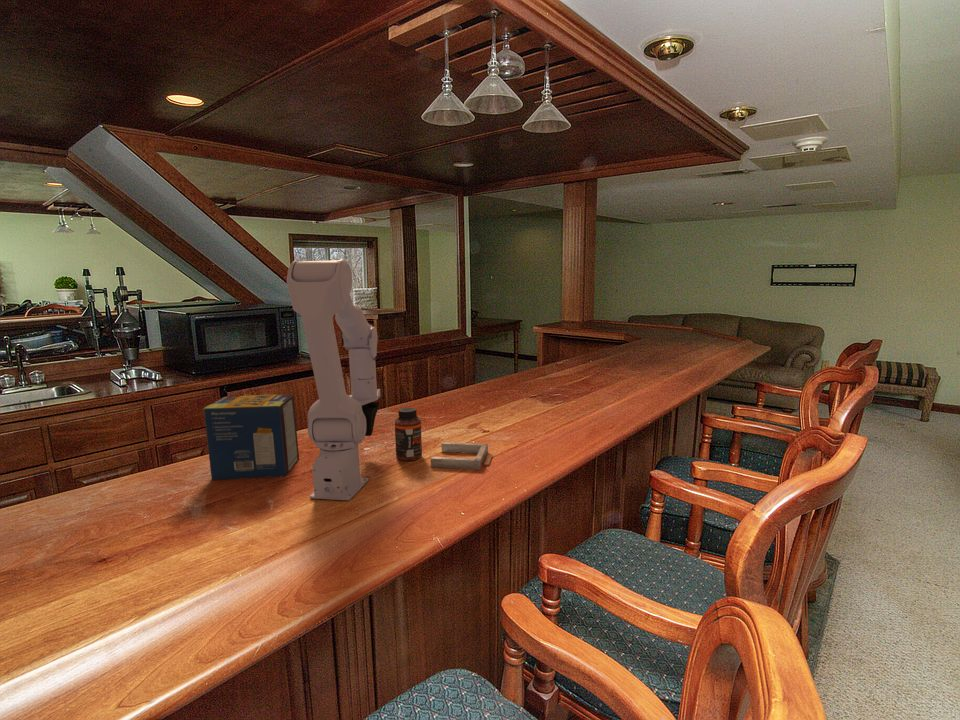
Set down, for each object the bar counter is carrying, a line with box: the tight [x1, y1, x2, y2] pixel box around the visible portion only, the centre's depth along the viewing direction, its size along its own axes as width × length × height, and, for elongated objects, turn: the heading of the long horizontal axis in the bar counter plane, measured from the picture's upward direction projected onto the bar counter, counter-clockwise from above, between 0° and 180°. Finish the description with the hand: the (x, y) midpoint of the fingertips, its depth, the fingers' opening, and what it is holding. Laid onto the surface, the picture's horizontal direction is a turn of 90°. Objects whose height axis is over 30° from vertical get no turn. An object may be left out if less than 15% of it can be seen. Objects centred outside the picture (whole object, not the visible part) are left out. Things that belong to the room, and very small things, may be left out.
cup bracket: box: [430, 441, 494, 471], centre depth 111 cm, size 11×12×2 cm
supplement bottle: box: [394, 407, 423, 462], centre depth 113 cm, size 6×6×11 cm
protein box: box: [202, 393, 300, 481], centre depth 107 cm, size 10×15×16 cm
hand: (366, 434), depth 115 cm, fingers closed
